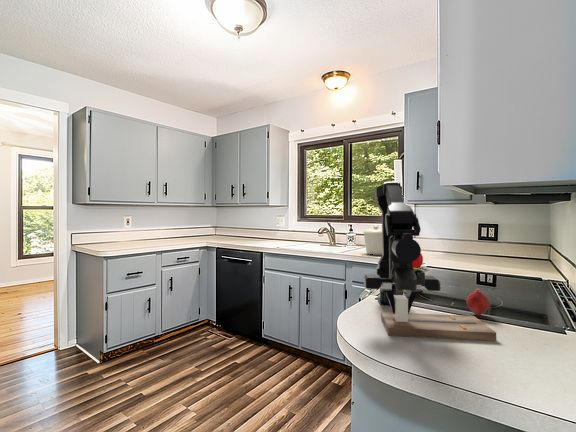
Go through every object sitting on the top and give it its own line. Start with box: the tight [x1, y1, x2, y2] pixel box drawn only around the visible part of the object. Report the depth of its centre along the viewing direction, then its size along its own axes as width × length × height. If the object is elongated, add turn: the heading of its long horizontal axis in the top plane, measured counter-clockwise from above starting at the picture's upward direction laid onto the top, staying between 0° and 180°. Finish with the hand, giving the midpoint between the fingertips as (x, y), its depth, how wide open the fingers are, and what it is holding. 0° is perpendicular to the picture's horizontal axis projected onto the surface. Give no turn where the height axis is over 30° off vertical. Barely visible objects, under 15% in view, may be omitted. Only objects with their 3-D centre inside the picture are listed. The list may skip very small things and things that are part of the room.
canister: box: [362, 224, 382, 256], centre depth 222 cm, size 18×18×21 cm
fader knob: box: [393, 294, 408, 322], centre depth 83 cm, size 4×3×6 cm
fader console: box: [380, 311, 497, 342], centre depth 82 cm, size 12×25×2 cm, turn 82°
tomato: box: [412, 253, 424, 269], centre depth 168 cm, size 11×13×10 cm
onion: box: [465, 288, 490, 316], centre depth 92 cm, size 6×6×8 cm
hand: (400, 314), depth 83 cm, fingers closed on fader knob, 3 cm apart
